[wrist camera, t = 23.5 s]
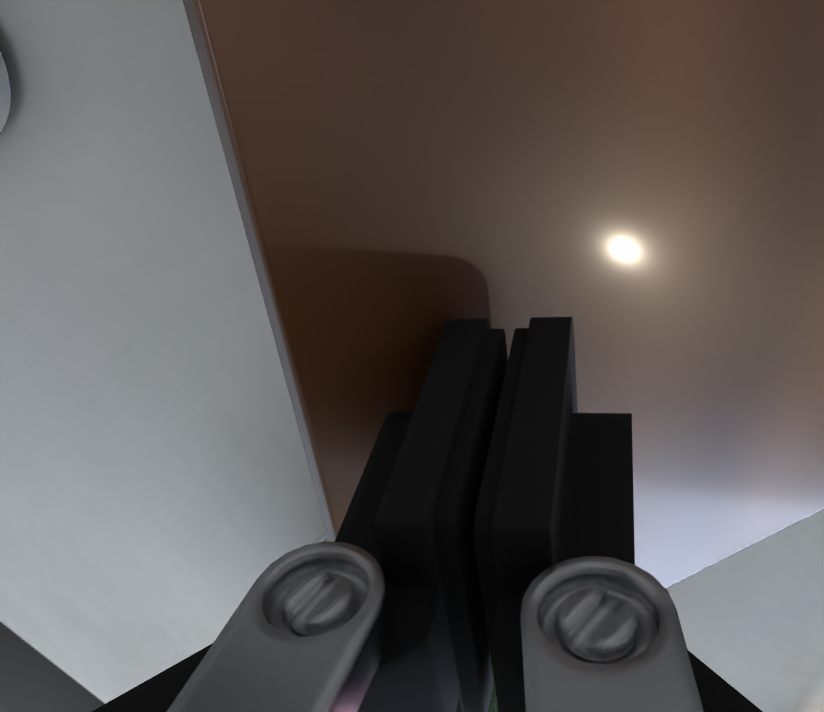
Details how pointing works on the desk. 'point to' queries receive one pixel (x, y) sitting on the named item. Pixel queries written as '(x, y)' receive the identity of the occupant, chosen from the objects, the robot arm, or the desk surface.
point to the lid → (546, 226)
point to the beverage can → (4, 93)
